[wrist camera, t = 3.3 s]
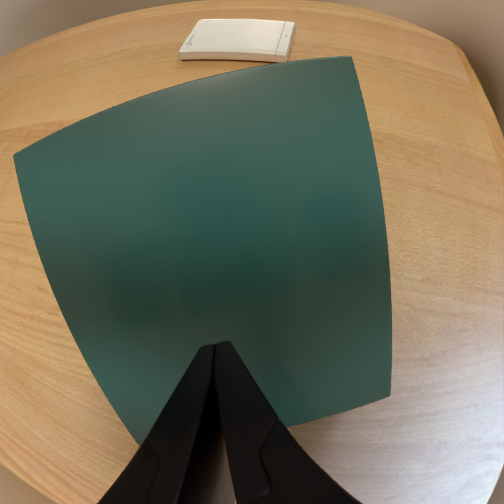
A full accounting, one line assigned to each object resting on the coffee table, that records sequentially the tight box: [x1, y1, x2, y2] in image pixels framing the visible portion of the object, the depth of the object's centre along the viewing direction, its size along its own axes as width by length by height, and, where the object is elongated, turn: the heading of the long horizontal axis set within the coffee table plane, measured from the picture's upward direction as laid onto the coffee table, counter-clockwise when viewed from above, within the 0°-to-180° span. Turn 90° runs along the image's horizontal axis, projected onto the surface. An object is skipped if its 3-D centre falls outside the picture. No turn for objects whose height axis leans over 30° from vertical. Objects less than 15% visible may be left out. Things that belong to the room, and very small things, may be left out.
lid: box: [13, 56, 392, 446], centre depth 11 cm, size 14×13×1 cm
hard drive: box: [179, 19, 295, 63], centre depth 31 cm, size 2×8×12 cm
